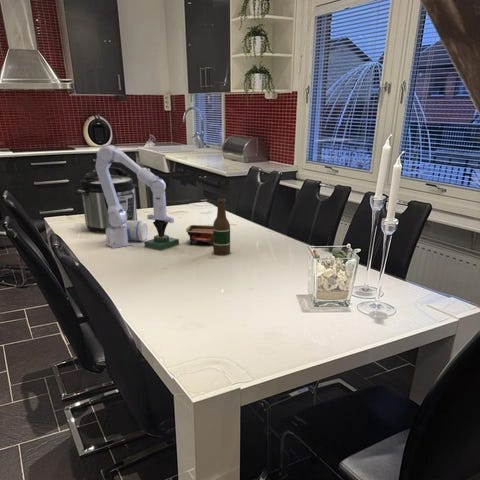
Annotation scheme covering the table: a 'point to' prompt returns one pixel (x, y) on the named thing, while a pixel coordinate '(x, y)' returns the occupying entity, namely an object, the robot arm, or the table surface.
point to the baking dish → (200, 233)
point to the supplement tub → (136, 230)
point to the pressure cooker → (97, 202)
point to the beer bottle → (221, 230)
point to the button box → (161, 243)
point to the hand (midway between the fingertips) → (161, 236)
